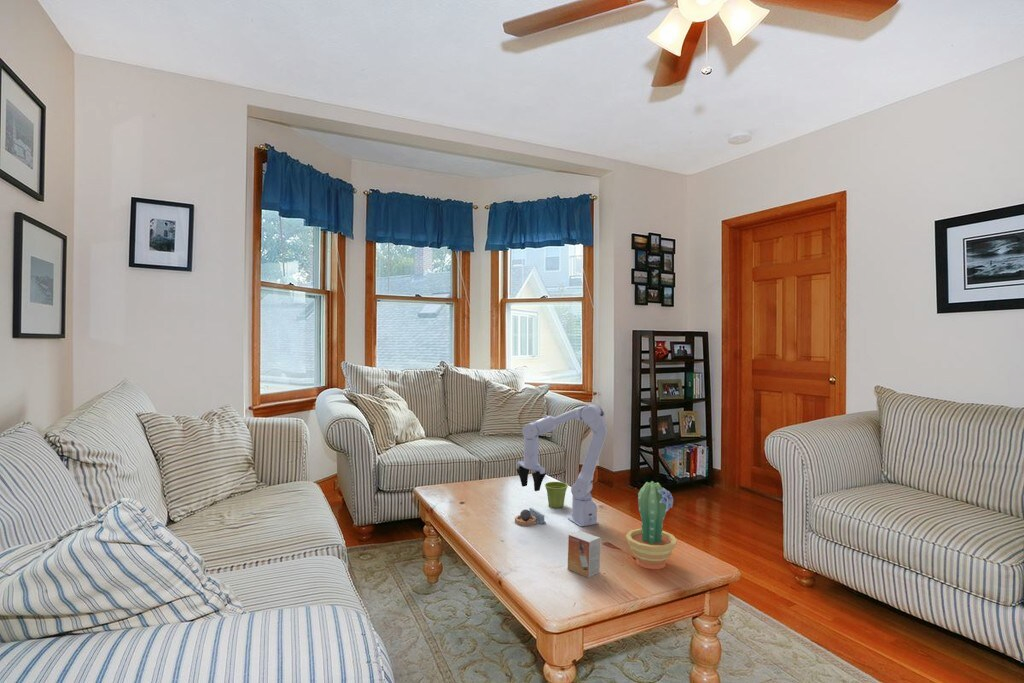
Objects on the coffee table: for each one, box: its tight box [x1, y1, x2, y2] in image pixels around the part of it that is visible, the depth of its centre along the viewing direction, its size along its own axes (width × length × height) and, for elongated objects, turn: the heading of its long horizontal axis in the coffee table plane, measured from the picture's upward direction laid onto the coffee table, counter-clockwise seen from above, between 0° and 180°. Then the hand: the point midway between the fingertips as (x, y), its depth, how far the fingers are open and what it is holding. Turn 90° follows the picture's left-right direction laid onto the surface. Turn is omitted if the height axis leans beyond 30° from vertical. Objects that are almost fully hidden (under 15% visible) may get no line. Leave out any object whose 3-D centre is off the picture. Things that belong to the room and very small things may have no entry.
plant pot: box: [544, 481, 569, 509], centre depth 218 cm, size 9×9×9 cm
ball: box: [520, 509, 531, 521], centre depth 198 cm, size 4×4×4 cm
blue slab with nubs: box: [528, 507, 547, 525], centre depth 201 cm, size 10×2×3 cm, turn 26°
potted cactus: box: [625, 480, 678, 570], centre depth 164 cm, size 15×15×25 cm
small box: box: [567, 530, 601, 578], centre depth 158 cm, size 8×6×10 cm
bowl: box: [514, 515, 537, 527], centre depth 199 cm, size 8×8×1 cm
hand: (530, 488), depth 208 cm, fingers open, 7 cm apart
